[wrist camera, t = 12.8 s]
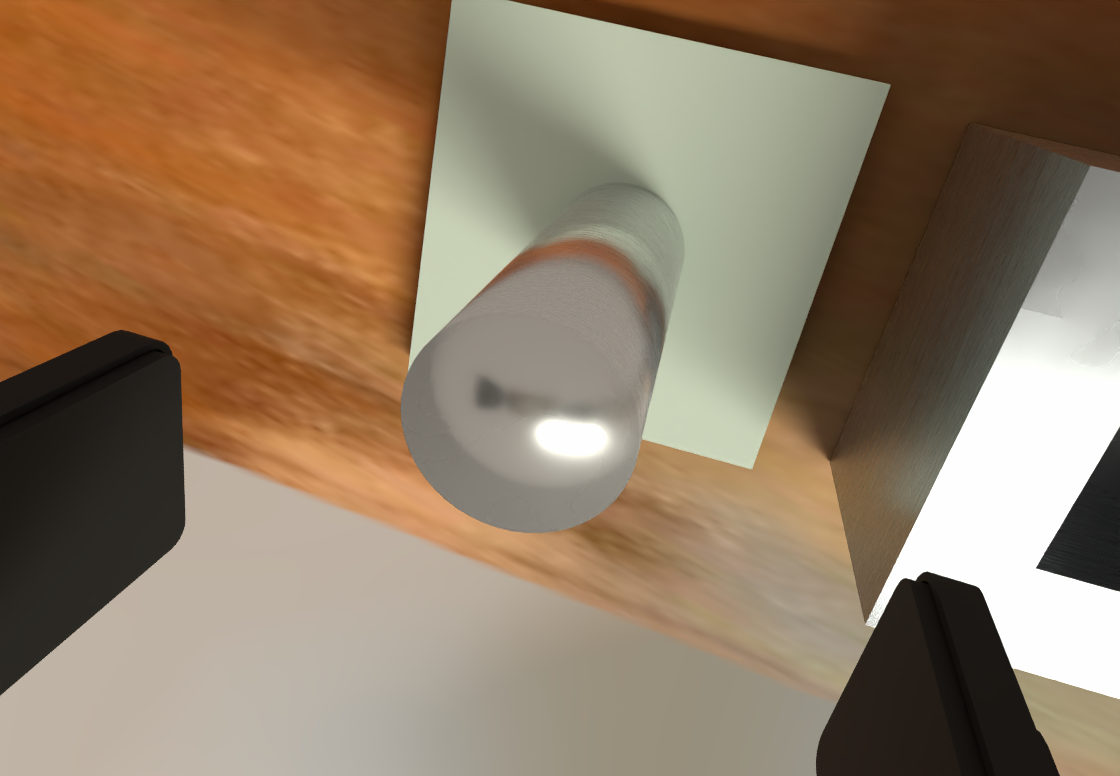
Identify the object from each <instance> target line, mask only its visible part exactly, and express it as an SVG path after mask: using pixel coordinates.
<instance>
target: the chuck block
mask: <svg viewBox="0 0 1120 776" xmlns="http://www.w3.org/2000/svg"><path fill="white" fill-rule="evenodd" d="M830 465H831V470H832V475H833V479H834V484H835V488H836V493H837V497H838V502H839V507H840V511H841V516H842V520H843V525H844V529H845V534H846V539H847V543H848V548H849V552H850V557H851V562H852V566H853V571H854V575H855V580H856V584H857V589H858V594H859V598H860V603H861V607H862V612H863V616H864V621H865V625H868V626H872V627H876V625H877V623H878V621H879V620H880V618H881V616H882V614H883V612H884V610H885V608H886V606H887V604H888V602H889V600H890V598H891V596H892V594H893V592H894V590H895V588H896V586H897V584H898V583H899V582H900V581H901V580H902V579H903V578H908V579H912V580H916V579H917V577H918V576H919V575H920V574H921V573H922V572H926V571H928V572H932V573H935V574H938V575H942V576H945V577H948V578H952V579H955V580H958V581H962V582H965V583H968V584H972V585H975V586H977V587H979V588H980V589H981V591H982V593H983V595H984V597H985V600H986V602H987V605H988V607H989V610H990V612H991V615H992V618H993V620H994V623H995V625H996V628H997V630H998V633H999V635H1000V638H1001V640H1002V643H1003V646H1004V648H1005V651H1006V653H1007V656H1008V658H1009V661H1010V663H1011V666H1012V668H1016V669H1019V670H1023V671H1026V672H1029V673H1033V674H1036V675H1040V676H1043V677H1047V678H1050V679H1053V680H1057V681H1060V682H1064V683H1067V684H1070V685H1074V686H1077V687H1081V688H1084V689H1088V690H1091V691H1094V692H1098V693H1101V694H1105V695H1108V696H1112V697H1115V698H1118V699H1120V156H1118V155H1114V154H1109V153H1105V152H1100V151H1096V150H1091V149H1087V148H1082V147H1078V146H1073V145H1069V144H1064V143H1060V142H1055V141H1051V140H1046V139H1042V138H1037V137H1033V136H1028V135H1024V134H1019V133H1015V132H1010V131H1006V130H1001V129H997V128H992V127H988V126H983V125H979V124H974V123H970V124H969V126H968V129H967V131H966V134H965V136H964V139H963V141H962V143H961V146H960V148H959V151H958V153H957V155H956V158H955V160H954V163H953V165H952V168H951V170H950V172H949V175H948V177H947V180H946V182H945V185H944V187H943V189H942V192H941V194H940V197H939V199H938V201H937V204H936V206H935V209H934V211H933V214H932V216H931V218H930V221H929V223H928V226H927V228H926V231H925V233H924V235H923V238H922V240H921V243H920V245H919V248H918V250H917V252H916V255H915V257H914V260H913V262H912V264H911V267H910V269H909V272H908V274H907V277H906V279H905V281H904V284H903V286H902V289H901V291H900V294H899V296H898V298H897V301H896V303H895V306H894V308H893V310H892V313H891V315H890V318H889V320H888V323H887V325H886V327H885V330H884V332H883V335H882V337H881V340H880V342H879V344H878V347H877V349H876V352H875V354H874V357H873V359H872V361H871V364H870V366H869V369H868V371H867V373H866V376H865V378H864V381H863V383H862V386H861V388H860V390H859V393H858V395H857V398H856V400H855V403H854V405H853V407H852V410H851V412H850V415H849V417H848V419H847V422H846V424H845V427H844V429H843V432H842V434H841V436H840V439H839V441H838V444H837V446H836V449H835V451H834V453H833V456H832V458H831V461H830Z"/></svg>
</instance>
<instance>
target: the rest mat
mask: <svg viewBox="0 0 1120 776" xmlns="http://www.w3.org/2000/svg"><path fill="white" fill-rule="evenodd" d="M890 86H891V85H890V84H887V83H883V82H878V81H874V80H869V79H865V78H860V77H856V76H851V75H847V74H842V73H837V72H833V71H828V70H824V69H819V68H815V67H810V66H806V65H801V64H796V63H792V62H787V61H783V60H778V59H774V58H769V57H765V56H760V55H755V54H751V53H746V52H742V51H737V50H733V49H728V48H724V47H719V46H714V45H710V44H705V43H701V42H696V41H692V40H687V39H683V38H678V37H674V36H669V35H664V34H660V33H655V32H651V31H646V30H642V29H637V28H633V27H628V26H623V25H619V24H614V23H610V22H605V21H601V20H596V19H592V18H587V17H582V16H578V15H573V14H569V13H564V12H560V11H555V10H551V9H546V8H541V7H537V6H532V5H528V4H523V3H519V2H514V1H510V0H452V4H451V12H450V21H449V29H448V38H447V46H446V55H445V63H444V72H443V80H442V88H441V97H440V105H439V114H438V122H437V131H436V139H435V148H434V156H433V164H432V173H431V181H430V190H429V198H428V207H427V215H426V224H425V232H424V241H423V249H422V257H421V266H420V274H419V283H418V291H417V300H416V308H415V317H414V325H413V333H412V342H411V350H410V359H409V367H408V371H409V369H410V367H411V365H412V363H413V361H414V359H415V358H416V356H417V355H418V354H419V352H420V351H421V350H422V348H423V347H424V346H425V345H426V344H427V343H428V342H429V341H430V340H431V339H432V338H433V337H434V336H435V335H436V334H437V333H438V332H439V331H440V330H441V329H442V328H443V327H444V326H445V325H447V324H448V323H449V322H450V321H451V320H452V319H453V318H454V317H455V316H456V315H457V314H458V313H459V312H460V311H461V310H462V309H463V308H464V307H465V306H466V305H467V304H468V303H469V302H470V301H471V300H472V299H473V298H474V297H475V296H476V295H477V294H478V293H479V292H480V291H481V290H482V289H483V288H484V287H485V286H486V285H487V284H488V283H489V282H490V281H491V280H492V279H493V278H494V277H495V276H496V275H497V274H498V273H500V272H501V271H502V270H503V269H504V268H505V267H506V266H507V265H508V264H509V263H510V262H511V261H512V260H513V259H514V258H515V257H516V256H517V255H518V254H519V253H520V252H521V251H522V250H523V249H524V248H525V247H526V246H527V245H528V244H529V243H530V242H531V241H532V240H533V239H534V238H535V237H536V236H537V235H538V234H539V233H540V232H541V231H542V230H543V229H544V228H545V227H546V226H547V225H548V224H549V223H550V222H552V221H553V220H554V219H555V218H556V217H557V216H558V215H559V214H560V213H561V212H562V211H563V210H564V209H565V208H566V207H567V206H568V205H569V204H570V203H571V202H572V201H573V200H574V199H575V198H576V197H578V196H579V195H580V194H582V193H583V192H585V191H587V190H589V189H591V188H593V187H596V186H599V185H603V184H608V183H627V184H633V185H636V186H640V187H642V188H645V189H647V190H649V191H651V192H652V193H654V194H655V195H657V196H658V197H659V198H661V199H662V200H663V201H664V202H665V203H666V204H667V205H668V206H669V207H670V208H671V210H672V211H673V213H674V214H675V216H676V218H677V220H678V222H679V224H680V226H681V229H682V232H683V237H684V244H685V255H684V262H683V267H682V271H681V275H680V280H679V284H678V288H677V292H676V296H675V301H674V305H673V309H672V313H671V317H670V322H669V326H668V330H667V334H666V338H665V343H664V347H663V351H662V355H661V359H660V364H659V368H658V372H657V376H656V380H655V385H654V389H653V393H652V397H651V401H650V406H649V410H648V414H647V418H646V422H645V427H644V431H643V435H642V439H644V440H647V441H651V442H655V443H658V444H662V445H665V446H669V447H673V448H676V449H680V450H684V451H687V452H691V453H694V454H698V455H702V456H705V457H709V458H713V459H716V460H720V461H724V462H727V463H731V464H734V465H738V466H742V467H745V468H749V469H752V467H753V465H754V462H755V459H756V456H757V454H758V451H759V448H760V445H761V443H762V440H763V437H764V434H765V432H766V429H767V426H768V423H769V420H770V418H771V415H772V412H773V409H774V407H775V404H776V401H777V398H778V396H779V393H780V390H781V387H782V384H783V382H784V379H785V376H786V373H787V371H788V368H789V365H790V362H791V360H792V357H793V354H794V351H795V349H796V346H797V343H798V340H799V337H800V335H801V332H802V329H803V326H804V324H805V321H806V318H807V315H808V313H809V310H810V307H811V304H812V301H813V299H814V296H815V293H816V290H817V288H818V285H819V282H820V279H821V277H822V274H823V271H824V268H825V266H826V263H827V260H828V257H829V254H830V252H831V249H832V246H833V243H834V241H835V238H836V235H837V232H838V230H839V227H840V224H841V221H842V218H843V216H844V213H845V210H846V207H847V205H848V202H849V199H850V196H851V194H852V191H853V188H854V185H855V183H856V180H857V177H858V174H859V171H860V169H861V166H862V163H863V160H864V158H865V155H866V152H867V149H868V147H869V144H870V141H871V138H872V136H873V133H874V130H875V127H876V124H877V122H878V119H879V116H880V113H881V111H882V108H883V105H884V102H885V100H886V97H887V94H888V91H889V88H890Z"/></svg>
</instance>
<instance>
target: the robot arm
mask: <svg viewBox="0 0 1120 776" xmlns="http://www.w3.org/2000/svg"><path fill="white" fill-rule="evenodd" d="M183 461H184V460H183V428H182V396H181V369H180V364H179V362H178V360H177V359H176V358H175V357H174V356H172V351H171V350H170V348H169V346H168V345H167V344H166V343H164V342H162V341H159V340H156V339H152V338H149V337H146V336H142V335H139V334H136V333H132V332H129V331H124V330H119V331H115V332H112V333H109V334H107V335H105V336H103V337H101V338H98V339H96V340H94V341H92V342H89V343H87V344H85V345H83V346H80V347H78V348H76V349H74V350H71V351H69V352H67V353H65V354H62V355H60V356H58V357H56V358H53V359H51V360H49V361H47V362H45V363H42V364H40V365H38V366H36V367H33V368H31V369H29V370H27V371H24V372H22V373H20V374H18V375H15V376H13V377H11V378H9V379H6V380H4V381H2V382H0V695H1V694H2V693H4V692H5V691H6V690H7V689H8V688H9V687H10V686H12V685H13V684H14V683H15V682H17V681H18V680H19V679H20V678H21V677H22V676H24V675H25V674H26V673H27V672H28V671H29V670H31V669H32V668H33V667H34V666H35V665H36V664H38V663H39V662H40V661H41V660H42V659H43V658H45V657H46V656H47V655H48V654H49V653H50V652H52V651H53V650H54V649H55V648H56V647H57V646H59V645H60V644H61V643H62V642H63V641H64V640H66V639H67V638H68V637H69V636H70V635H71V634H72V633H74V632H75V631H76V630H77V629H78V628H80V627H81V626H82V625H83V624H84V623H86V622H87V621H88V620H89V619H90V618H91V617H93V616H94V615H95V614H96V613H97V612H98V611H100V610H101V609H102V608H103V607H104V606H105V605H107V604H108V603H109V602H110V601H111V600H112V599H113V598H115V597H116V596H117V595H118V594H119V593H121V592H122V591H123V590H124V589H125V588H126V587H128V586H129V585H130V584H131V583H132V582H133V581H135V580H136V579H137V578H138V577H139V576H140V575H142V574H143V573H144V572H145V571H146V570H147V569H148V568H150V567H151V566H152V565H153V564H154V563H156V562H157V561H158V560H159V559H160V558H162V557H163V555H165V554H166V553H167V552H169V551H170V550H171V549H172V548H173V547H174V546H175V545H176V543H177V542H178V540H179V539H180V537H181V535H182V533H183V530H184V526H185V494H184V462H183ZM816 773H817V776H1060V775H1059V773H1058V770H1057V768H1056V765H1055V763H1054V760H1053V758H1052V755H1051V752H1050V750H1049V747H1048V745H1047V744H1046V742H1045V740H1044V738H1043V736H1042V735H1041V733H1040V732H1039V731H1038V730H1036V727H1035V725H1034V722H1033V720H1032V717H1031V715H1030V712H1029V709H1028V707H1027V704H1026V702H1025V699H1024V697H1023V694H1022V692H1021V689H1020V686H1019V684H1018V681H1017V679H1016V676H1015V674H1014V671H1013V669H1012V666H1011V663H1010V661H1009V658H1008V656H1007V653H1006V651H1005V648H1004V646H1003V643H1002V640H1001V638H1000V635H999V633H998V630H997V628H996V625H995V623H994V620H993V618H992V615H991V612H990V610H989V607H988V605H987V602H986V600H985V597H984V595H983V593H982V591H981V589H980V588H979V587H977V586H975V585H972V584H968V583H965V582H962V581H958V580H955V579H952V578H948V577H945V576H942V575H938V574H935V573H932V572H928V571H926V572H922V573H921V574H920V575H919V576H918V577H917V579H916V580H912V579H908V578H903V579H902V580H901V581H900V582H899V583H898V584H897V586H896V588H895V590H894V592H893V594H892V596H891V598H890V600H889V602H888V604H887V606H886V608H885V610H884V612H883V614H882V616H881V618H880V620H879V621H878V623H877V625H876V627H875V629H874V631H873V633H872V635H871V637H870V639H869V641H868V643H867V645H866V647H865V649H864V651H863V653H862V655H861V657H860V659H859V661H858V663H857V665H856V667H855V669H854V671H853V673H852V675H851V677H850V679H849V681H848V683H847V685H846V687H845V689H844V691H843V693H842V695H841V697H840V699H839V701H838V703H837V705H836V707H835V709H834V711H833V713H832V715H831V717H830V719H829V721H828V723H827V725H826V727H825V729H824V731H823V733H822V735H821V738H820V741H819V745H818V750H817V757H816Z"/></svg>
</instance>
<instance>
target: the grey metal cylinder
mask: <svg viewBox="0 0 1120 776" xmlns="http://www.w3.org/2000/svg"><path fill="white" fill-rule="evenodd" d="M684 255H685V244H684V237H683V232H682V229H681V226H680V224H679V222H678V220H677V218H676V216H675V214H674V213H673V211H672V210H671V208H670V207H669V206H668V205H667V204H666V203H665V202H664V201H663V200H662V199H661V198H659V197H658V196H657V195H655V194H654V193H652V192H651V191H649V190H647V189H645V188H642V187H640V186H636V185H633V184H627V183H608V184H603V185H599V186H596V187H593V188H591V189H589V190H587V191H585V192H583V193H582V194H580V195H579V196H578V197H576V198H575V199H574V200H573V201H572V202H571V203H570V204H569V205H568V206H567V207H566V208H565V209H564V210H563V211H562V212H561V213H560V214H559V215H558V216H557V217H556V218H555V219H554V220H553V221H552V222H550V223H549V224H548V225H547V226H546V227H545V228H544V229H543V230H542V231H541V232H540V233H539V234H538V235H537V236H536V237H535V238H534V239H533V240H532V241H531V242H530V243H529V244H528V245H527V246H526V247H525V248H524V249H523V250H522V251H521V252H520V253H519V254H518V255H517V256H516V257H515V258H514V259H513V260H512V261H511V262H510V263H509V264H508V265H507V266H506V267H505V268H504V269H503V270H502V271H501V272H500V273H498V274H497V275H496V276H495V277H494V278H493V279H492V280H491V281H490V282H489V283H488V284H487V285H486V286H485V287H484V288H483V289H482V290H481V291H480V292H479V293H478V294H477V295H476V296H475V297H474V298H473V299H472V300H471V301H470V302H469V303H468V304H467V305H466V306H465V307H464V308H463V309H462V310H461V311H460V312H459V313H458V314H457V315H456V316H455V317H454V318H453V319H452V320H451V321H450V322H449V323H448V324H447V325H445V326H444V327H443V328H442V329H441V330H440V331H439V332H438V333H437V334H436V335H435V336H434V337H433V338H432V339H431V340H430V341H429V342H428V343H427V344H426V345H425V346H424V347H423V348H422V350H421V351H420V352H419V354H418V355H417V356H416V358H415V359H414V361H413V363H412V365H411V367H410V369H409V371H408V374H407V377H406V379H405V382H404V386H403V392H402V397H401V419H402V427H403V432H404V436H405V440H406V443H407V445H408V448H409V451H410V453H411V455H412V457H413V459H414V461H415V463H416V465H417V467H418V468H419V470H420V471H421V473H422V474H423V476H424V477H425V478H426V480H427V481H428V482H429V483H430V484H431V486H432V487H433V488H434V489H435V490H436V491H437V492H438V493H439V494H440V495H441V496H442V497H443V498H444V499H446V500H447V501H448V502H449V503H451V504H452V505H453V506H455V507H456V508H457V509H459V510H461V511H462V512H464V513H465V514H467V515H469V516H470V517H473V518H475V519H477V520H479V521H481V522H483V523H486V524H489V525H492V526H494V527H497V528H501V529H505V530H510V531H516V532H524V533H546V532H555V531H560V530H564V529H568V528H571V527H574V526H577V525H579V524H582V523H584V522H586V521H588V520H590V519H592V518H594V517H595V516H597V515H598V514H599V513H601V512H602V511H604V510H605V509H606V508H607V507H608V506H609V505H610V504H611V503H612V502H614V501H615V500H616V498H617V497H618V496H619V495H620V493H621V492H622V491H623V489H624V488H625V486H626V484H627V482H628V481H629V479H630V477H631V475H632V472H633V469H634V467H635V464H636V460H637V456H638V452H639V448H640V443H641V439H642V435H643V431H644V427H645V422H646V418H647V414H648V410H649V406H650V401H651V397H652V393H653V389H654V385H655V380H656V376H657V372H658V368H659V364H660V359H661V355H662V351H663V347H664V343H665V338H666V334H667V330H668V326H669V322H670V317H671V313H672V309H673V305H674V301H675V296H676V292H677V288H678V284H679V280H680V275H681V271H682V267H683V262H684Z"/></svg>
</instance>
